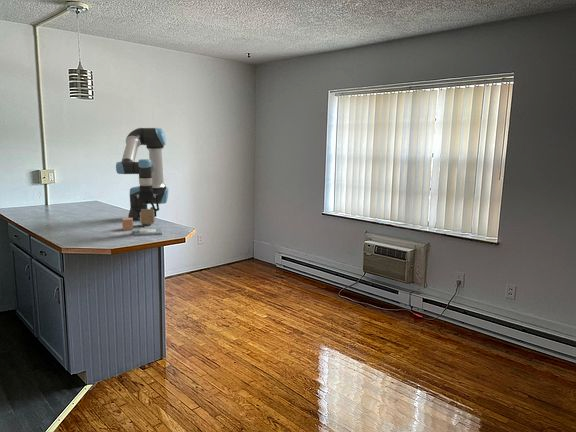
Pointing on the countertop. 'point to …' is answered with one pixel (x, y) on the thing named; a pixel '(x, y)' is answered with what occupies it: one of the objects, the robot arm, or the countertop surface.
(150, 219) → the walnut block
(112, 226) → the countertop surface
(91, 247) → the countertop surface
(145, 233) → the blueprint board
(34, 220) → the countertop surface
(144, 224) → the mortar and pestle
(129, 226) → the terracotta block
